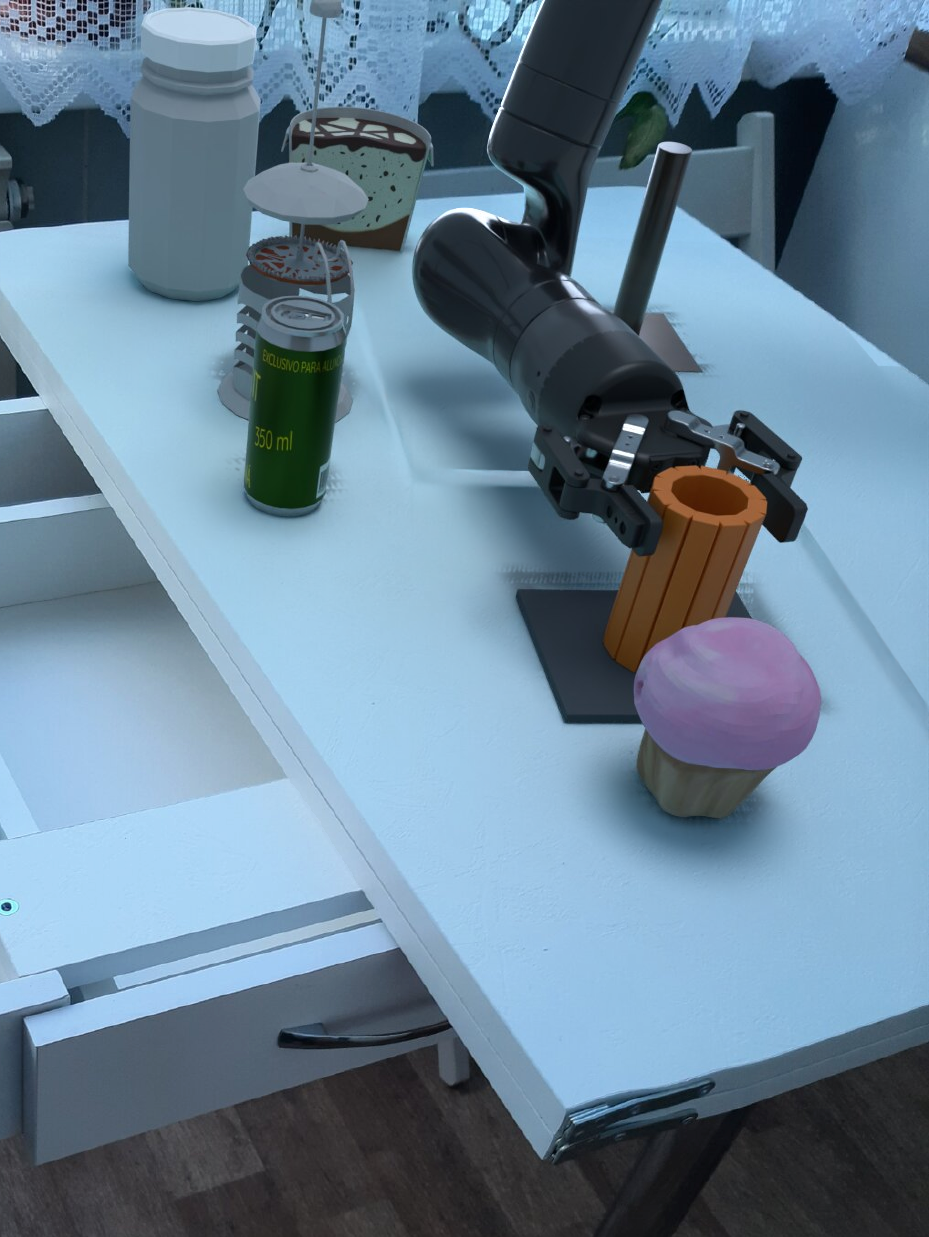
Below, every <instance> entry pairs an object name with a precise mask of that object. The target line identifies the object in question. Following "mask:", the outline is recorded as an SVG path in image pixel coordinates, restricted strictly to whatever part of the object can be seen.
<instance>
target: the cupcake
mask: <svg viewBox="0 0 929 1237" xmlns="http://www.w3.org/2000/svg"><path fill="white" fill-rule="evenodd" d="M634 704H635V707H636V709H637V712H638V714H639V717H640V719H641V721H642V725H643V726H644V731H643V734H642V738H641V741H640V744H639V748H638V752H637V757H636V765H635V766H636V771H637V774H638V776H639V778H640V780H641V781H642V783H643V784H644V785H645V787H646V789H647V790H648V791H650V793H651V794H652V796H653V798H655V800H656V801H657V804H658V806H659V808H660V809H661V810H662V811H664V812H666V813H668V814H669V815H672V816H675V817H680V818H688V817H699V816H702V817H708V818H712V819H725V818H726V817H729V816H731V815H732V813H734V812H735V811H736V810H737V809H738V808H739V807H740V806H741V805H742V804H743V803H744V802H745V801H746V800H747V798H748V797H749V796H750V795H751V794H752V793H753V792H754V791H755V790H756V789H757V787H759V785H760V784H761V783H762V782H763V781H764V780H765V779H766V778H767V777H768V776H769V775H770V774H771V773H772V772H773V771H774V770H776V769H777V768H778V767H780V766H783V765H784V764H787V763H788V762H790V761H792V760H793V759H796V757H798V756H799V755H801V754H803V752H804V751H805V750H806V749H807V748H808V746H809V745H810V743H811V742H812V740H813V737H814V736H815V733H816V731H817V727H818V723H819V719H820V715H821V709H822V708H821V707H822V694H821V689H820V686H819V683H818V681H817V679H816V676H815V674H814V671H813V670H812V668H811V666H810V664H809V663H808V661H807V660H806V659H805V658H804V657H803V656H802V655H801V654H800V653H799V651H798V648H797V647H796V646H795V644H794V643H793V641H791V639H790V638H789V637H788V636H787V635H786V634H784V633H783V632H782V631H780V630H779V629H777V627H774V626H773V625H771V624H768V623H766V622H764V621H761V620H758V619H754V618H752V619H750V618H734V617H727V618H717V619H711V620H708V621H706V622H703V623H701V624H699V625H693V626H689V627H685V628H683V629H681V630H679V631H678V632H676V633H675V634H673V635H671V636H670V637H668V638H667V639H664V640H662V641H660V642H659V643H657V644H656V645H655V646H654V647H653V648H651V649H650V650H649V651H648V652H647V654H646V655H645V656H644V658H643V659H642V661H641V663H640V666H639V668H638V670H637V673H636V676H635V680H634Z"/></svg>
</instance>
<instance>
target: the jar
mask: <svg viewBox="0 0 929 1237" xmlns="http://www.w3.org/2000/svg"><path fill="white" fill-rule="evenodd" d="M257 31H258V28H257V27H256V25H254V24H252V23H251V22H250V21H248V20H246V18H243V17H242V16H239V15H237V14H233V13H229V12H226V11H223V10H222V11H221V10H219V9H211V8H210V9H209V8H200V7H192V6H188V7H170V8H169V7H168V8H162V9H159V10H156V11H153V12H150V13H147V14H146V15H144V17H143V19H142V21H141V25H140V32H141V33H140V53H142V54H143V55H144V56H145V57H144V58H143V59H142V62H141V64H140V68H139V73H141V77H140V78H139V79H138V81H137V82H136V84H135V85H134V86H133V89H132V92H131V95H130V104H129V106H130V108H129V110H130V111H129V112H130V113H129V114H130V115H129V116H130V117H129V177H128V179H129V180H128V182H129V183H128V184H129V185H128V186H129V187H128V190H129V192H128V198H129V199H128V243H127V244H128V248H127V249H128V252H127V253H128V256H127V266H128V268H129V269H130V271H131V272H132V273H133V274H134V276H135V277H136V279H137V280H138V281H139V282H140V284H142V285H143V286H144V287H145V288H146V289H147V290H148V291H149V292H151V293H155V294H157V295H159V296H163V297H165V298H168V299H170V300H171V299H172V300H182V301H190V302H201V301H202V302H203V301H209V300H215V299H217V300H218V299H222V298H223V297H225V296H227V295H228V294H231V293H232V292H234V291H236V290H237V289H238V288H239V283H240V275H241V273H242V271H243V269H244V267H246V266H248V265H249V260H248V258H247V256H246V254H247V251H248V249H249V247H250V246H251V245H250V244H251V232H252V220H253V207H252V206H250V204H249V202H248V200H247V198H246V195H245V193H244V190H243V188H244V187H245V185H246V183H247V182H248V180H250V179H251V178H253V177H255V176H256V167H257V154H258V142H259V141H258V140H259V126H260V115H261V102H262V99H261V98H260V96H259V94H258V92H257V90H256V89H255V87H254V85H253V81H254V76H255V70H254V68H252V67H251V65H253V64H254V62H255V56H256V45H257V33H258V32H257Z"/></svg>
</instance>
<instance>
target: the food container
mask: <svg viewBox="0 0 929 1237" xmlns="http://www.w3.org/2000/svg"><path fill="white" fill-rule="evenodd" d="M312 116H313V108H312V109H308V110H304V111H302V112H300V113H298V114H296V115H295V116H294V117H293V118H291V120H290V124H289V126H288V127H287V129H286V132H285V134H284V139H283V142H282V146H281V150H280V152H282V153H283V152H284V149H285V147H287V145H288V163H308V155H309V145H310V135H311V126H312ZM427 161H428V162H429V164H430V166H431V167H434V166H435V165H434V164H435V163H434V146H433V143H432V136H431V134H430V133H429V131H428V130H427V129H426V128H425V127H424V126H423V125H421V124H419V123H417V122H415V121H413V120H411V119H409V118H407V117H404V116H401V115H398V114H394V113H391V112H387V111H383V110H379V109H372V108H364V107H356V106H355V107H354V106H326V107H317V115H316V124H315V134H314V144H313V153H312V163H315V164H319V165H322V166H325V167H328V168H332V169H334V170H337V171H339V172H341V173H344V174H346V175H347V176H348V177H349V178H350V179H351V180H352V181H353V182H355V183H356V184H357V185H358V186H359V187H360V188H361V189H362V190H363V191H364V193H365V194H366V196H367V197H368V199H369V200H368V202H367V205H366V208H365V209H364V210H363V211H362V212H361V213H360V214H358V215H357V216H355V217H353V218H352V219H350V220H349V221H346V222H340V223H335V224H329V225H310V224H305V230H304V237H305V236H306V239H309V237H310V238H311V239H312V240H314V239H315V240H319V239H320V241H321V242H322V241H324V243H327V242H328V244H332V243H333V244H332V245H333V246H334V245H336V247H337V246H338V243H339V242H340V240H343V241H345V243H346V246H347V247H353V248H361V249H363V248H364V249H373V250H384V251H397V252H400V253H401V252H402V253H403V252H404V249H405V246H406V241H407V237H408V234H409V231H410V227H411V222H412V219H413V214H414V211H415V208H416V204H417V200H418V195H419V192H420V187H421V183H422V181H423V180H422V179H423V176H424V173H425V168H426V165H427ZM288 223H289V224H288V225H289V226H288V227H289V228H288V230H289V231H288V232H289V236H290V235H292V237H294V236H296V235H297V237H299V236H300V233H301V224H300V223H293V222H288ZM289 236H288V237H289ZM341 247H342V245H341Z"/></svg>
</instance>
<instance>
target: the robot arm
mask: <svg viewBox="0 0 929 1237" xmlns="http://www.w3.org/2000/svg"><path fill="white" fill-rule="evenodd" d="M663 1H664V0H543V1H542V2H541V4H540V6H539V9H538V11H537V13H536V16H535V18H534V20H533V23H532V25H531V28H530V30H529V32H528V34H527V37H526V39H525V41H524V44H523V47H522V49H521V51H520V54H519V57H518V61H517V62H516V64H515V67H514V70H513V72H512V75H511V78H510V81H509V83H508V85H507V88H506V90H505V93H504V96H503V98H502V101H501V104H500V106H501V107H499V108H498V112H497V114H496V116H495V119H494V122H493V124H492V127H491V130H490V132H489V137H488V141H487V148H486V150H487V155H488V158H489V160H490V162H491V163H492V165H493V166H494V167H495V168H497V169H498V170H499V171H500V172H501V173H503V174H505V175H506V176H507V177H509V178H510V179H512V180H514V181H515V182H517V183H518V184H520V185H521V186H522V187H523V210H522V217H521V220H520V222H518V221H514V220H512V219H508V218H505V217H503V216H502V217H501V216H498V215H495V214H492V213H490V212H487V211H483V210H480V209H475V208H471V207H459V208H455V209H449V210H447V211H445V212H444V213H442V214H440V215H439V216H437V217H436V218H435V219H434V220H432V221H431V222H430V223H429V224H428V225H427V226H426V228H425V229H424V230H423V232H422V233H421V236H420V237H419V240H418V241H417V244H416V247H415V249H414V252H413V257H412V264H411V278H412V286H413V290H414V294H415V296H416V299H417V302H418V304H419V306H420V308H421V309H422V311H423V312H424V314H426V316H427V317H428V318H429V320H430V321H432V322H433V323H434V324H435V325H436V326H437V327H438V328H439V329H441V330H442V331H443V332H445V333H446V334H447V335H449V336H450V337H452V338H453V339H455V340H456V341H457V342H459V343H460V344H462V346H465V347H466V348H468V349H469V350H471V351H472V352H474V353H475V354H477V355H479V356H480V357H482V358H484V359H485V360H486V361H488V362H490V363H491V364H492V365H493V366H494V367H495V368H496V370H497V371H498V373H499V374H500V376H501V377H502V378H503V379H504V380H505V382H506V383H507V384H508V385H509V387H510V388H511V389H512V390H513V391H514V393H515V394H516V395H517V396H518V398H519V400H520V402H521V404H522V406H523V408H524V409H525V411H526V413H527V414H528V416H529V418H530V419H531V420H532V421H533V423H535V425H536V426H537V427H536V429H535V433H534V434H535V435H534V437H533V442H532V445H531V446H532V447H531V451H530V455H529V459H528V463H527V470H528V472H529V474H530V475H531V477H532V478H533V480H534V481H535V483H536V484H537V486H538V488H539V489H540V490H541V492H542V493H543V495H544V496H545V498H546V500H547V501H548V502H549V504H550V505H551V507H552V508H553V510H554V511H555V512H556V514H557V516H558V517H559V518H561V519H564V520H567V521H574V520H577V519H578V518H579V517H580V514H581V513H582V514H589V515H591V518H592V519H593V521H595V522H597V523H599V524H605V525H606V526H607V527H608V528H609V530H610V531H611V532H612V533H613V534H614V536H615V537H616V538H617V540H618V541H619V542H620V543H621V544H622V545H623V546H625V547H627V548H628V549H630V550H631V549H632V550H633V551H634V552H635V553H636V555H637V556H639V557H641V556H651V555H653V554H654V553H655V551H656V548H657V545H658V542H659V539H660V535H661V532H662V529H663V522H662V519H661V517H660V516H659V515H658V514H657V513H656V511H655V510H654V509H653V508H652V507H651V506H650V504H649V503H648V502H647V499H645V498H644V496H643V495H642V494H649V493H650V490H651V487H652V484H653V481H654V478H655V477H656V476H657V474H659V473H661V472H663V471H665V470H667V469H669V468H671V467H672V468H675V467H677V466H698V467H699V468H700V467H701V466H705V467H706V466H707V463H708V459H709V456H710V453H711V450H715V451H717V453H718V456H719V459H718V464H717V466H716V469H719V470H724V471H726V475H727V474H729V473H732V474H734V475H735V472H736V469H737V471H738V472H740V473H741V474H742V475H743V476H744V477H745V478H746V479H748V481H749V482H750V483H751V485H754V486H756V488H757V489H758V490H759V491H760V492H761V493H762V494H763V496H764V497H765V498H766V501H767V510H766V516H765V518H764V521H763V523H762V526H763V527H764V529H765V530H766V531H767V532H768V533H770V535H771V536H772V537H773V538H774V539H775V540H776V541H777V542H778V543H780V544H783V543H784V544H785V543H794V542H795V541H796V540H797V538H798V536H799V533H800V531H801V528H802V526H803V523H804V522H805V519H806V517H807V512H808V510H809V507H808V505H807V503H806V502H805V501H804V500H803V499H802V498H801V497H800V495H798V494H797V493H796V492H795V491H794V490H793V489H792V488H791V487H792V484H793V482H794V480H795V477H796V474H797V472H798V470H799V468H800V466H801V464H802V461H803V457H802V455H801V454H800V453H799V452H797V451H796V450H795V449H794V448H793V447H791V445H789V444H788V443H787V442H786V441H785V440H783V439H782V438H781V437H780V436H779V435H777V433H775V432H774V431H773V430H772V429H771V428H769V427H768V426H767V425H766V424H765V423H763V421H761V419H759V418H758V417H757V416H756V415H755V414H753V413H752V412H750V411H748V410H742V409H738V410H735V411H734V412H733V414H732V417H731V420H730V423H728V424H727V423H725V424H719V425H712V423H710V421H708V420H707V419H706V418H705V419H704V418H703V417H701V416H698V415H696V414H695V413H694V412H692V411H691V410H690V407H689V405H688V404H689V403H688V401H687V396H686V393H685V389H684V386H683V383H682V381H681V378H680V377H679V376H678V374H677V373H676V372H674V371H673V370H672V369H671V368H670V367H669V366H668V365H667V364H666V363H665V362H664V361H663V360H662V359H661V358H660V357H659V356H658V355H657V354H656V353H655V352H654V351H653V350H652V349H651V348H650V347H649V346H648V345H647V344H646V343H645V342H644V341H643V340H642V339H641V338H640V337H639V336H638V335H637V334H636V333H635V332H634V331H633V330H632V329H631V328H630V327H629V326H628V325H627V324H626V323H625V322H624V321H622V320H621V319H620V318H619V317H617V316H616V315H614V314H613V313H611V312H612V311H609V310H608V309H606V308H605V307H603V306H602V304H600V303H599V301H597V300H596V299H595V298H594V296H592V295H591V293H590V292H588V291H587V290H586V289H585V288H584V287H583V286H582V285H581V284H580V282H578V281H576V279H574V278H573V277H572V273H573V270H574V269H573V267H574V262H575V256H576V251H577V244H578V240H579V234H580V228H581V224H582V223H581V222H582V217H583V212H584V208H585V204H586V199H587V194H588V188H589V184H590V180H591V176H592V172H593V169H594V165H595V163H596V161H597V158H598V156H599V155H600V152H601V148H602V147H603V145H604V143H605V140H606V139H607V136H608V134H609V131H610V129H611V127H612V124H613V122H614V119H615V117H616V115H617V113H618V110H619V108H620V106H621V103H622V101H623V99H624V97H625V94H626V93H627V89H628V86H629V84H630V82H631V79H632V77H633V74H634V72H635V70H636V67H637V65H638V63H639V60H640V58H641V55H642V52H643V50H644V48H645V45H646V43H647V41H648V38H649V35H650V33H651V30H652V28H653V25H654V23H655V20H656V17H657V15H658V12H659V10H660V8H661V5H662V3H663Z"/></svg>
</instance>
